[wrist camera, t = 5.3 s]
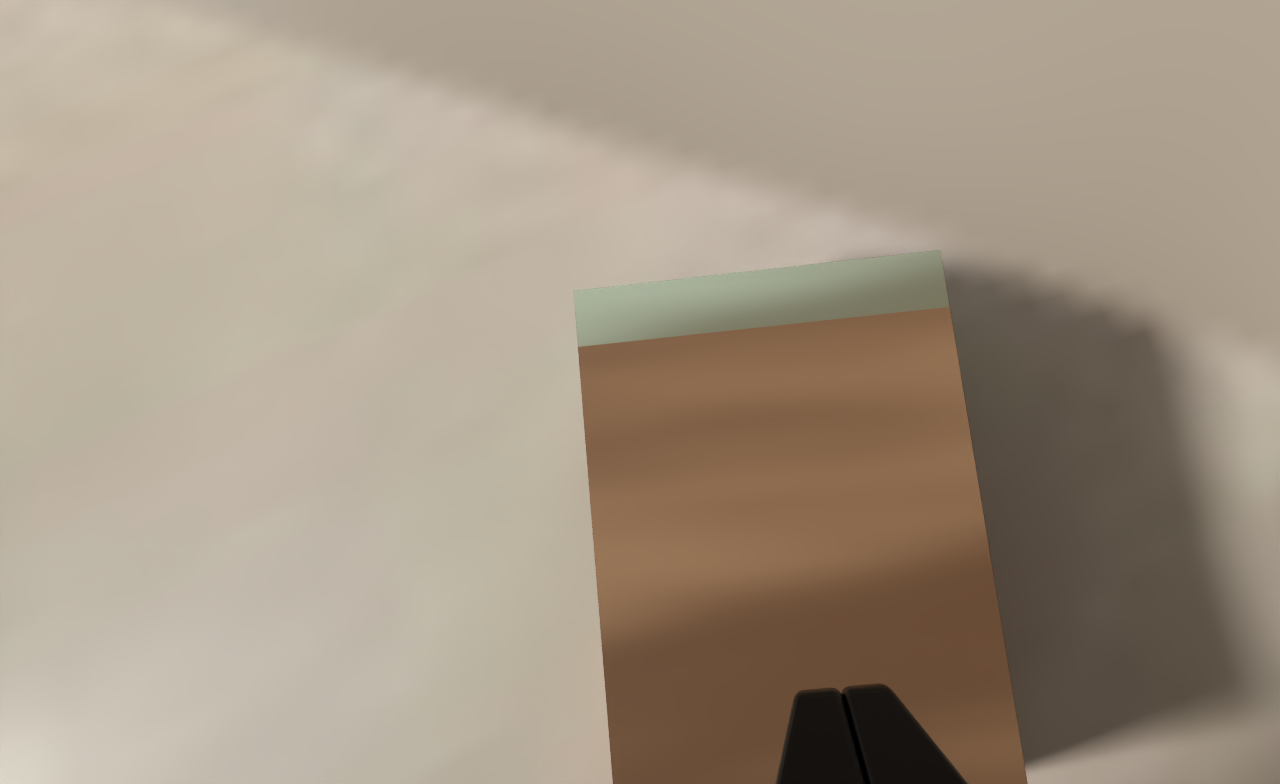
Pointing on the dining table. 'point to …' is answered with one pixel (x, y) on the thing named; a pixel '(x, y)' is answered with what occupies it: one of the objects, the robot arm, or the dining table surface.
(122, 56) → the dining table surface
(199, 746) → the dining table surface
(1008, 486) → the dining table surface
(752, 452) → the walnut block
